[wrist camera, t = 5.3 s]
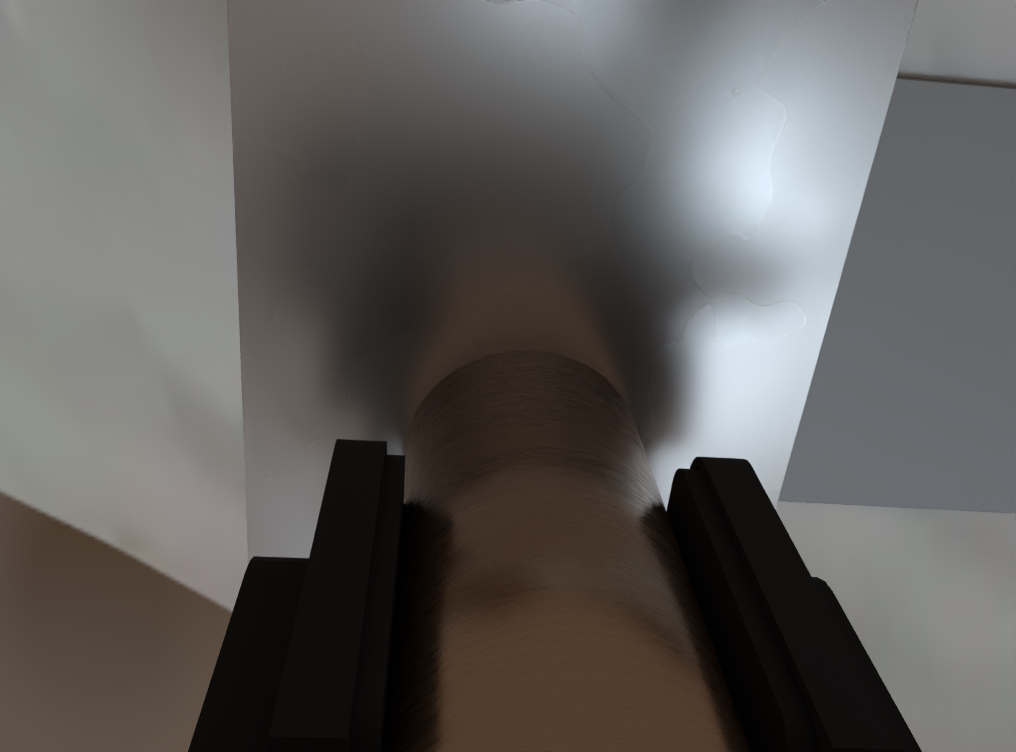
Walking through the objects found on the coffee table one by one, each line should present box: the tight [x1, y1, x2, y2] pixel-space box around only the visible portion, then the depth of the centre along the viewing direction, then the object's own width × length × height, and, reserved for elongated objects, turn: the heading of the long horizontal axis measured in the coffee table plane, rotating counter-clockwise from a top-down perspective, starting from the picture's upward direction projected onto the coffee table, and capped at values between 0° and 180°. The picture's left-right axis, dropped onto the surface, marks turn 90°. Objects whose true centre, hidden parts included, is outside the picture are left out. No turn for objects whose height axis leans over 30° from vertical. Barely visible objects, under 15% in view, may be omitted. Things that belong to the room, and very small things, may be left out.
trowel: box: [227, 0, 918, 752], centre depth 8 cm, size 7×10×8 cm
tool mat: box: [778, 77, 1016, 513], centre depth 28 cm, size 11×14×1 cm
